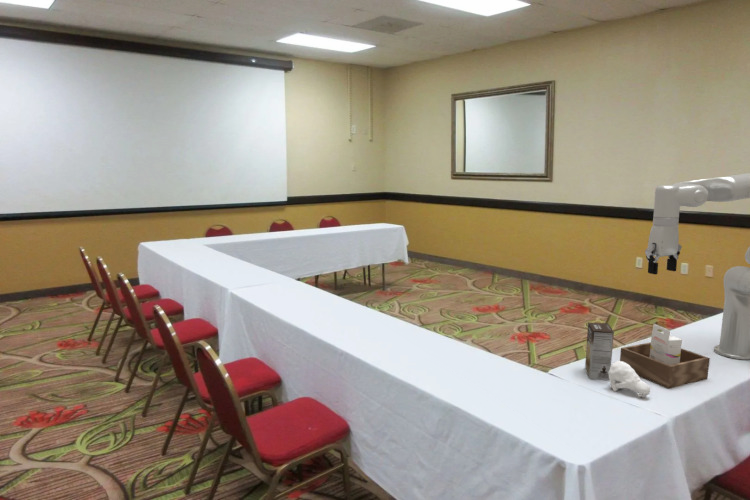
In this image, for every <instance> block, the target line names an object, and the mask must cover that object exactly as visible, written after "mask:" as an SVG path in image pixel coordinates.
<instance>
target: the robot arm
mask: <svg viewBox="0 0 750 500" xmlns="http://www.w3.org/2000/svg"><path fill="white" fill-rule="evenodd" d="M746 199H750V172H747V173H742V174H740V173H739V174H735V175H728V176H718V177H710V178H704V179H694V180H687V181H680V182H674V183H672V184H662V185H658V186H656V187H655V191H654V203H653V205H654V206H653V215H652V216H653V217H652V218H653V219H652V226H651V229H650V232H649V236H648V243H647V248H646V249H645V251H644V252H645V255H646V256H645V258H646V260H647V262H648V263H647V266H648V267H647V273H648V274H650V275H658V273H659V270H658V269H659V259H660V258H661V257H662V258H663V257H668V258H666V271H671V272H676V271H677V263H678V259H679V255H680V254H681V250H682V248H683V247H682V245H681V244H679V243H680V241H679V235H680V234H679V218H680V208H681V207H687V208H696V207H697V208H698V207H701V206H702V205H705V203H706V202H714V203H715V202H716V203H717V202H719V203H721V202H724V203H725V202H733V201H739V200H746ZM744 260H745V261H746V263H747V264H749V265H750V245H749V246H748V248H747V250H746V251H745V253H744ZM723 290H724V304H723V311H722V321H721V329H720V336H719V337H720V338H719V344H718V345H715V346H714V347H713V351H714V352H715V353H717V354H718V355H720V356H722V357H727V358H731V359H735V360H736V359H737V360H744V361H745V360H750V267H748V266H743V265H737V266H732V267H730V268H729V269H727V271H726V272H725V273H724V275H723Z"/></svg>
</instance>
